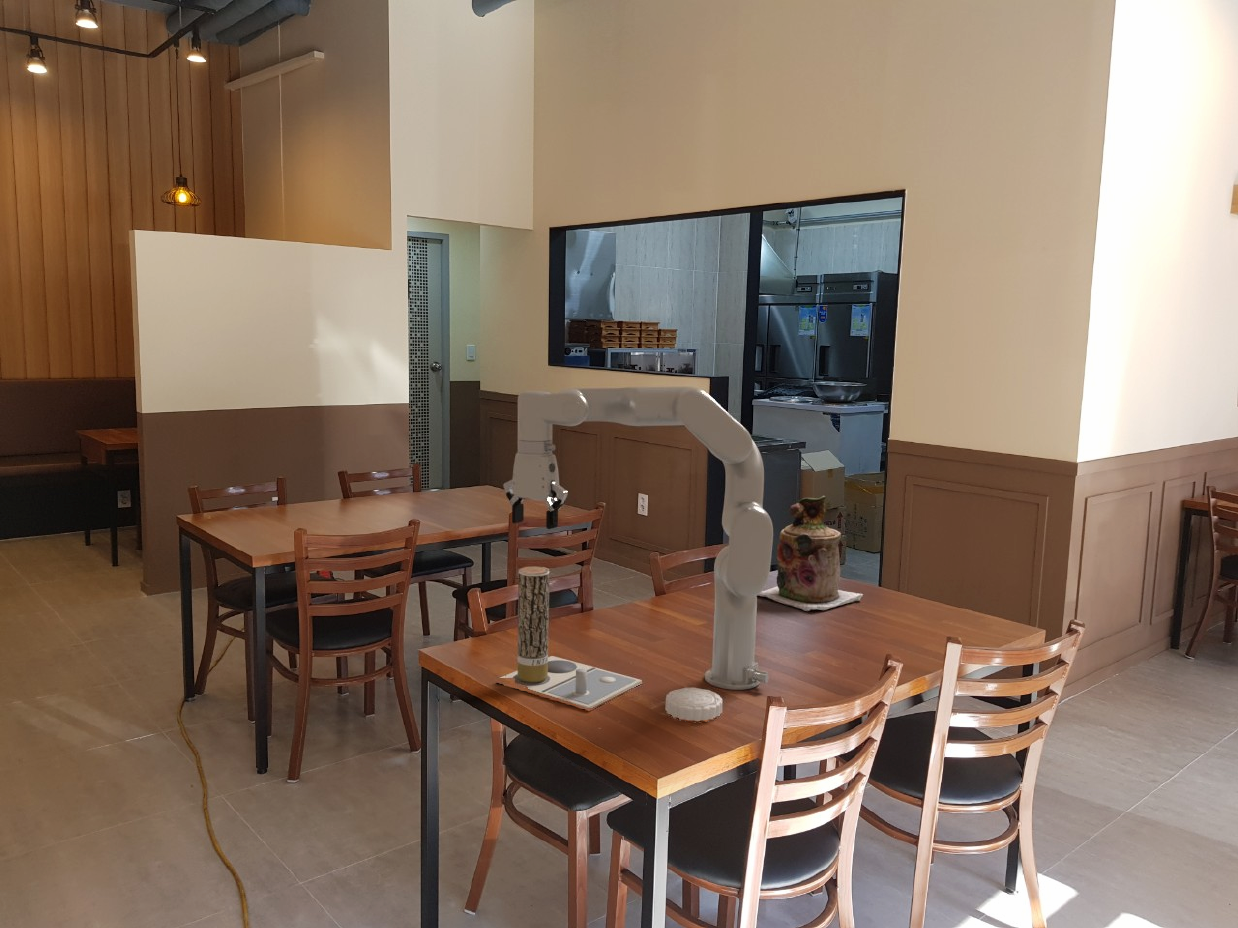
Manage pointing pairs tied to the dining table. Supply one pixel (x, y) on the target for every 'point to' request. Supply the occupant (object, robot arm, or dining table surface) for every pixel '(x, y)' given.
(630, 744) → the dining table surface
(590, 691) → the board
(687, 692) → the mooncake
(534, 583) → the paper tube
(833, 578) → the cookie jar
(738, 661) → the robot arm
